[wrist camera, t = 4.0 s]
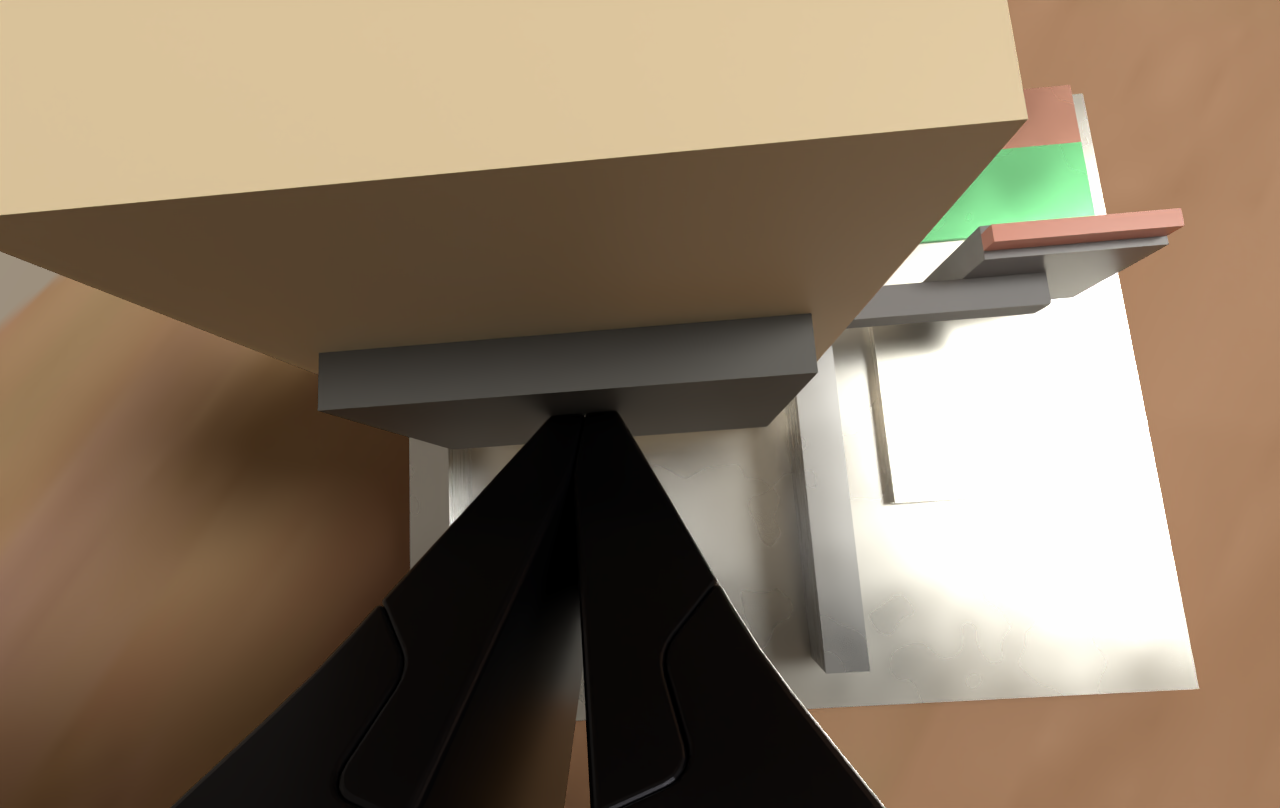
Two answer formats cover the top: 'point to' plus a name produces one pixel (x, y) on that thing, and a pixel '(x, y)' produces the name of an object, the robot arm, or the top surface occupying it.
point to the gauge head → (511, 189)
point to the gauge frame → (935, 486)
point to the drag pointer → (1061, 249)
